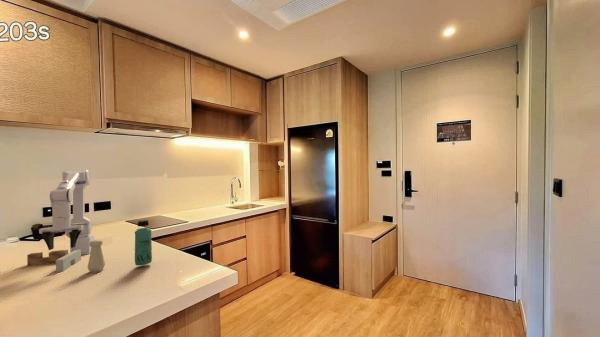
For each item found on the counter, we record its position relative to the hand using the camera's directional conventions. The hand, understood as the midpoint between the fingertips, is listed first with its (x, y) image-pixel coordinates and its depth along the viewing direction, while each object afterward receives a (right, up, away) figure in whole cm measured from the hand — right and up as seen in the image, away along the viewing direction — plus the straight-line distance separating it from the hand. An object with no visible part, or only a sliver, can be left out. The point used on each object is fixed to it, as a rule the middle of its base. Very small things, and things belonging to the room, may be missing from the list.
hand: (62, 248), depth 110 cm
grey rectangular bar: (-1, -10, +5) cm, 11 cm away
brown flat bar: (-16, -10, +10) cm, 21 cm away
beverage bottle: (+35, -9, +1) cm, 36 cm away
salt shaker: (+17, -9, -2) cm, 19 cm away
